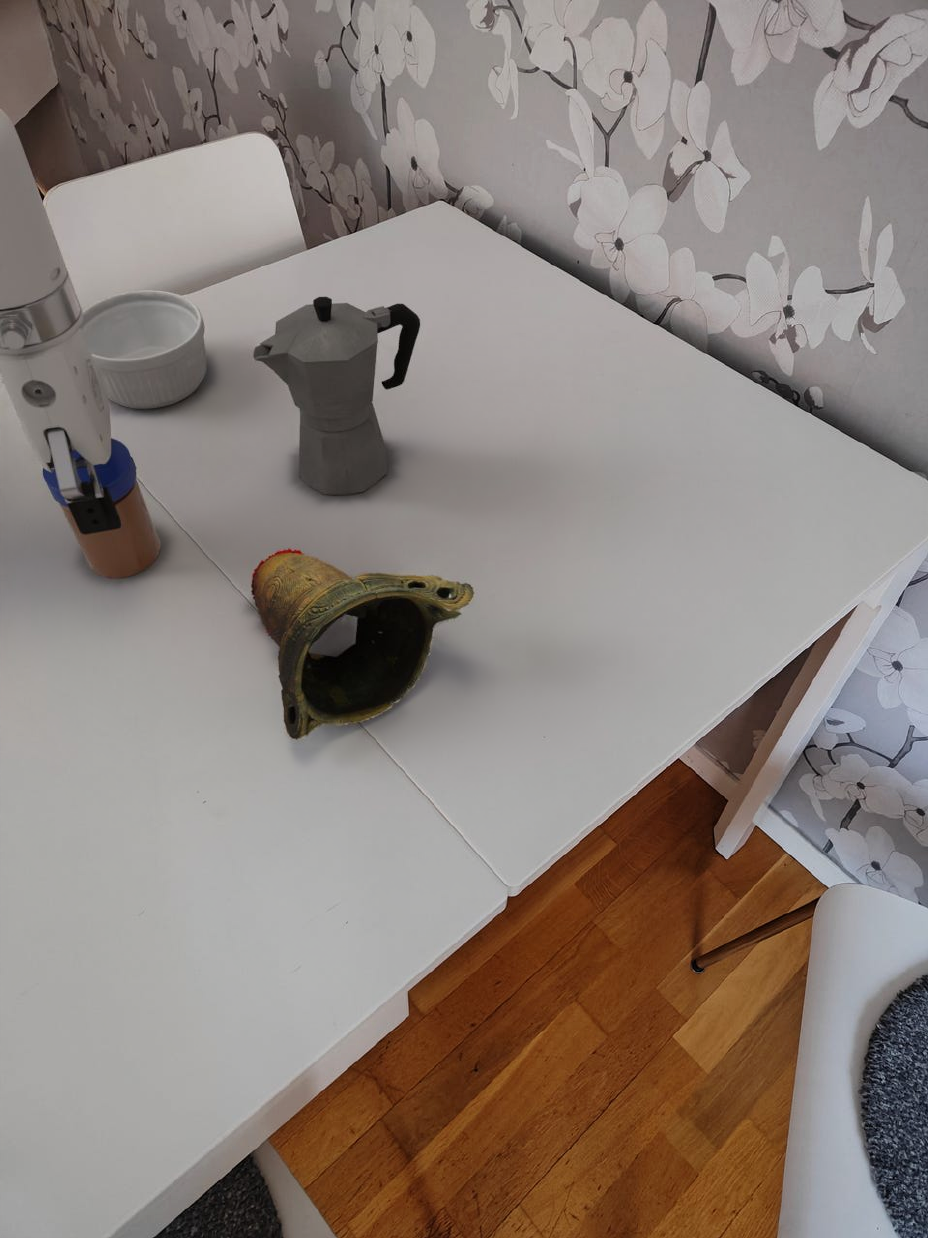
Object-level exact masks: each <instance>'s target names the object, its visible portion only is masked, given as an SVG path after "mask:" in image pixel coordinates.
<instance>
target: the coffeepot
mask: <svg viewBox="0 0 928 1238" xmlns="http://www.w3.org/2000/svg"><path fill="white" fill-rule="evenodd" d="M397 326H401V329H400V331H399V332H400V333H399V337H398V346H397V347H398V348H397V352H396V354H395V356H394V359H393V374H392V375H391V377H389V378H388V379H385V380H382V381H381V385H382V387H383V388H384V389H385V390H391V389H394V388H396V387H400V386H402V385H403V384H404V383H405V380H406V378H407V377H406V376H407V373H408V369H409V366H410V362H411V359H412V355H413V352H414V348H415V345H416V341H417V337H418V335H419V332H420V328H421V319H420V317H419V315H418V314H417V313H415V312H414V311H413V310H412V309H411V308H409V307H408V306H407V305H406V304H404V303H395V304H392V305H390V306H386V307H385V306H384V305H383V306H382V305H381V306H378V307H375V308H374V307H373V308H371V309H368V310H367V311H365V310H362V309H360V308H358V307H356V306H355V305H352V304H351V303H348V302H337V303H336V302H335V303H334V302H333V298H331V297H328V296H317V297H315V298H314V299H313V300H312V304H305V305H303V306H301V307H300V308H297V309H296V310H294V311H293V312H290V313H289V314H287V315H286V316H283V317H282V318H280V319H277V321H275V328H274V329H275V330H274V331H275V332H274V334H273V335H272V336H270V337H268V338H266V339H265V340H263V341H261V342H260V343H259V345H258V346H255V347H254V350H253V353H252V358H253V360H254V361H257V362H261V363H263V364H264V365H266V366H267V367H268V368H269V369H271V371H273V373H275V375H277V376H278V377H279V379H281V381H282V382H284V383H285V384H286V385H287V388H288V390H289V392H290V395H291V398H292V401H293V403H294V406H295V407H296V408H298V410H299V451H298V452H299V453H298V457H299V458H298V478H299V479H300V481H301V482H304V483H305V484H306V485H307V486H309V487H310V488H311V489H313V490H315V491H317V492H318V493H322V494H323V495H328V496H329V495H330V496H351V495H354V494H355V495H356V494H358V493H363V492H365V491H367V490H369V489H371V488H373V487H374V486H375V485H377V484H378V483H379V482H380V481H381V480H382V478H384V476H385V475H387V474H388V463H387V459H388V458H387V448H386V444H385V441H384V438H383V433H382V431H381V427H380V424H379V420H378V417H377V414H376V413H377V412H376V410H375V406H374V403H373V401H374V392H375V391H374V390H375V378H376V377H375V376H376V366H377V352H378V343H379V334H381V333H382V332H385V331H389V330H390V329H392V328H394V327H397Z"/></svg>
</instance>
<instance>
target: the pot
mask: <svg viewBox="0 0 928 1238" xmlns="http://www.w3.org/2000/svg"><path fill="white" fill-rule="evenodd" d="M250 586H251V589H252V590H250V592H251V596H252V600H253V601H254V605H255V607H256V608H257V613H258V615H259V618H260V621H261V624H262V625H263V626H264V629H265V633H266V634H267V635H268V637H270V638H271V640H272V641H274V643H275V644H276V645H277V647H279V650H278V656H277V660H278V662H277V664H278V673H279V674H278V675H277V677H278V679H279V682H280V686H281V690H280V692H281V701H282V706H283V707H282V708H283V722H284V726H285V727H284V729H285V733H286V735H288V737H289V738H290V739H291V740H293V739H294V740H296V741H299V740H301V739H304V738H306V737H308V736H309V735H310V734H311V732H313V731H315V730H316V729H319V728H320V727H321V726H322V724H324V726H325V727H326V725H335V726H338V727H341V726H344V725H345V726H348V724H351V723H352V724H356V723H359V722H360V723H363V722H364V721H370V718H371V719H375V718H376V717H379V715H382V714H383V712H386V711H388V710H390V709H392V708H393V706H394V705H393V704H395V703H396V704H397V703H399V702H400V701H401V699H404V698H405V697H406V695H407V694H408V692H409V691H410V690H411V689H412V690H413V689H414V688H415V686H416V684H417V683H418V682H419V680H420V676H421V674H423V673H424V669H425V668H426V667H427V663H428V657H429V656H430V655H431V651H433V650H432V648H431V647H432V646H433V638H435V636H434V631H435V629H436V627H438V625H440V624H443V623H444V622H450V621H452V620H456V619H458V618H459V617H460V616H462V614H463V613H462V612H461V611H462V609H463V608H464V607H466V606H470V604H471V603H472V601H473V599H474V598H475V590H474V587H473V586H472V584H471V583H467V582H463V583H461V582H460V581H450V580H448V579H442V577H441V576H439V575H433V574H431V575H416V574H393V573H392V574H391V573H382V572H365V573H360V574H357V575H356V577H355V578H352V577H351V576H350V575H349V574H347V573H346V572H344V571H342V570H341V569H339V568H338V567H335V566H334V565H332V564H330V563H328V562H325V561H324V560H321V559H319V558H317V557H314V556H309V555H306V554H304V553H303V552H302V551H301V550H300V549H294V550H292V549H291V548H290V547H288V548H287V549H283V550H277V551H276V552H274V554H271V555H268V557H267V558H265V560H260V562H259V563H258V565H257V567H256V568H254V569H253V573H252V579H251V585H250ZM450 596H451V597H450ZM345 615H347V616H350V617H354V618H356V629H355V641H354V643H353V644H352V645H350V646H349V647H347V649H345V650H344V651H342V652H341V653H340V654H338V655H337V656H334V655H327V654H318V653H312V652H310V649H311V647H312V646H313V645H314V644H315V643H316V642H317V641H318V640H319V639H320V638H321V637H322V636H323V635H324V634H325V633H326V632H327V631H328V629H329V628H330V627H331V626H332V625H333V624H334V623H336V622H337V621H338V620H340V619H342V618H343V617H344V616H345Z"/></svg>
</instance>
